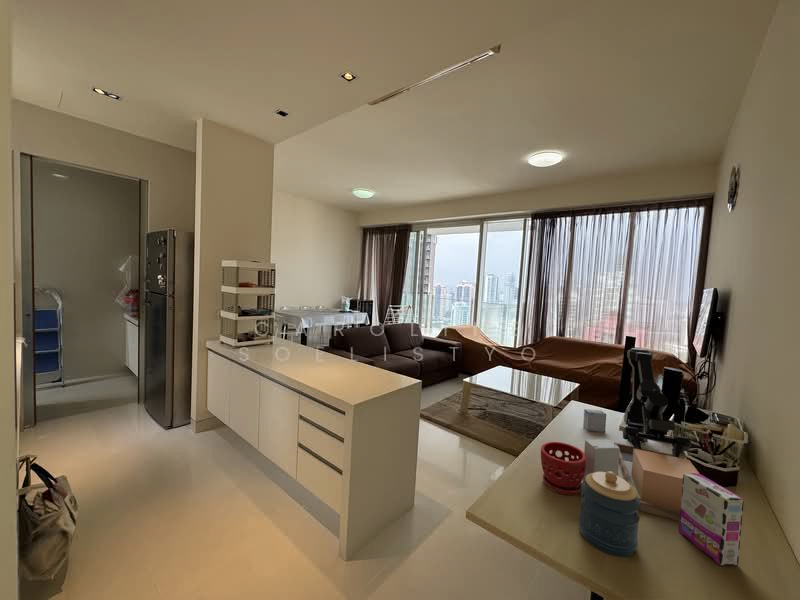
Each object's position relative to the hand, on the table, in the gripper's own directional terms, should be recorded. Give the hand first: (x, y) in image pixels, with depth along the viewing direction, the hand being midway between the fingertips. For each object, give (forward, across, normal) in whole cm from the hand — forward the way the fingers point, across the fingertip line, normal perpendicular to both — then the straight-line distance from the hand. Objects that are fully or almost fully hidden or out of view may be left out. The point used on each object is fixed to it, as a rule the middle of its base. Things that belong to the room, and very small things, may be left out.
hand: (658, 462), depth 112 cm
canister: (+32, -19, -23) cm, 44 cm away
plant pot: (+18, -30, -9) cm, 36 cm away
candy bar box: (+26, +4, -17) cm, 31 cm away
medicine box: (-21, -16, +31) cm, 41 cm away
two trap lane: (+5, 0, +4) cm, 7 cm away
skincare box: (+14, -18, -5) cm, 24 cm away
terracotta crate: (+10, 0, -2) cm, 11 cm away
